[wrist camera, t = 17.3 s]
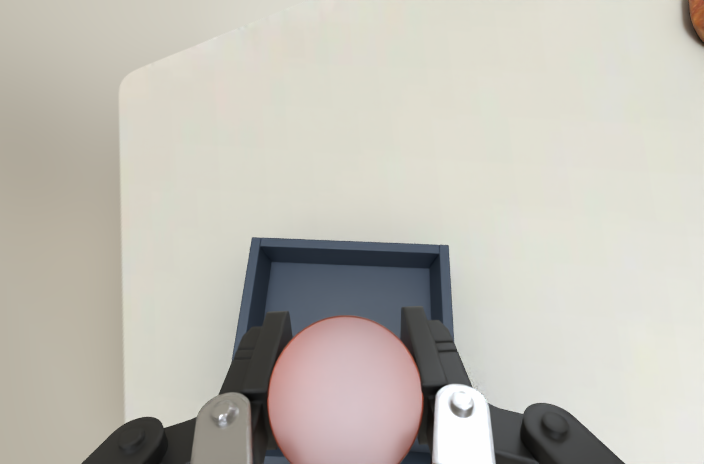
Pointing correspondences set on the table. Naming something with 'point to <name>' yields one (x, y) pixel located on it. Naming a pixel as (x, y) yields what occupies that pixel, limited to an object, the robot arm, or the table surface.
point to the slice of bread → (697, 16)
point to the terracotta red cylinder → (345, 395)
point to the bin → (345, 290)
